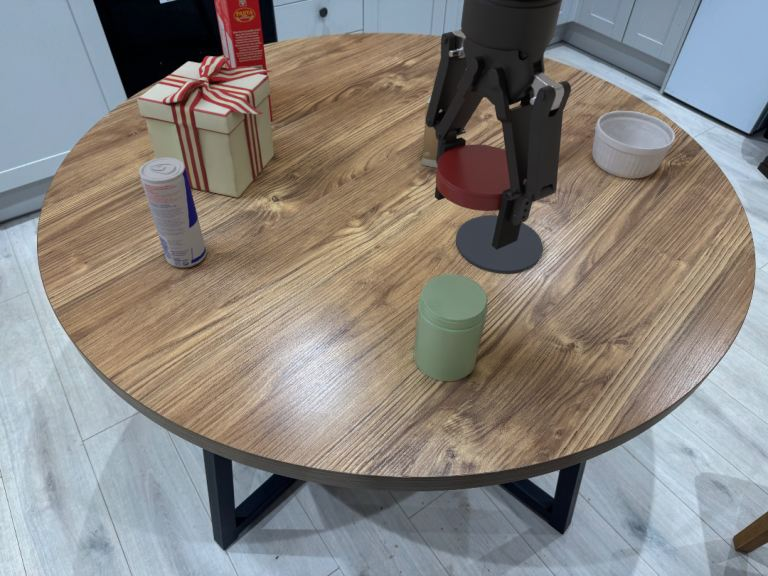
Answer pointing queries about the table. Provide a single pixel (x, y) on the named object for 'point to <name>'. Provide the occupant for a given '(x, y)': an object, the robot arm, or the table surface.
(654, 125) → the ramekin
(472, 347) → the jar
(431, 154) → the cosmetic box
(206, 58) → the gift box
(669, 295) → the table surface
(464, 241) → the coaster
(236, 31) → the food packaging
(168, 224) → the beverage can
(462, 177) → the lid
